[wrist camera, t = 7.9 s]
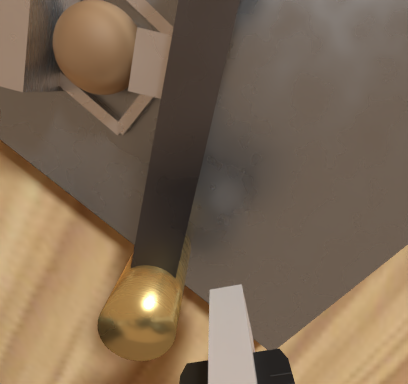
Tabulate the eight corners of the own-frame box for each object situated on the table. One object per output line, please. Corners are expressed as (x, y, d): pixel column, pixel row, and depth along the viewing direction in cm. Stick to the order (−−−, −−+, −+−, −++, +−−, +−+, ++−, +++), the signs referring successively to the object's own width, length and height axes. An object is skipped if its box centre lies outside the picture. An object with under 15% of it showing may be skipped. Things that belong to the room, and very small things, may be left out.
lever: (118, 258, 19) (66, 345, 13) (182, -134, 14) (145, -342, 7) (199, 276, 20) (189, 373, 13) (298, -104, 14) (370, -281, 7)
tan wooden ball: (121, 109, 18) (94, 116, 14) (61, 57, 17) (15, 49, 13) (167, 50, 17) (151, 39, 13) (105, -9, 16) (69, -38, 12)
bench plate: (267, 332, 24) (281, 407, 19) (-37, 88, 20) (-141, 89, 14) (578, 76, 18) (744, 71, 12) (234, -364, 14) (243, -690, 8)
